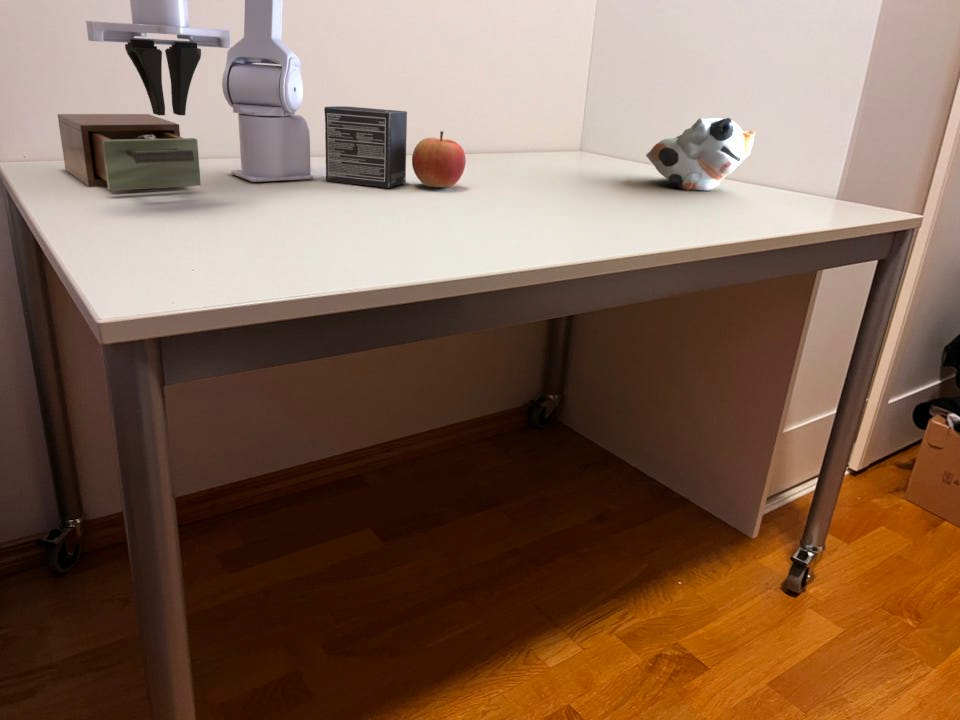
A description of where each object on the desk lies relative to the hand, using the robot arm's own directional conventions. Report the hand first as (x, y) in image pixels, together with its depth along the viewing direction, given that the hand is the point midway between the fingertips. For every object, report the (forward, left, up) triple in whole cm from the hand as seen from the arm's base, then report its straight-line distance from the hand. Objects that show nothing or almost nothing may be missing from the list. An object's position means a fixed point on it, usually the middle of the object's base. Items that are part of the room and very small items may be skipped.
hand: (169, 114), depth 86 cm
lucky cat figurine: (-82, +12, -11) cm, 84 cm away
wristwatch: (0, -13, -9) cm, 15 cm away
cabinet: (0, -23, -10) cm, 25 cm away
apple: (-38, -1, -11) cm, 39 cm away
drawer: (0, -11, -10) cm, 15 cm away
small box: (-30, -8, -11) cm, 33 cm away
